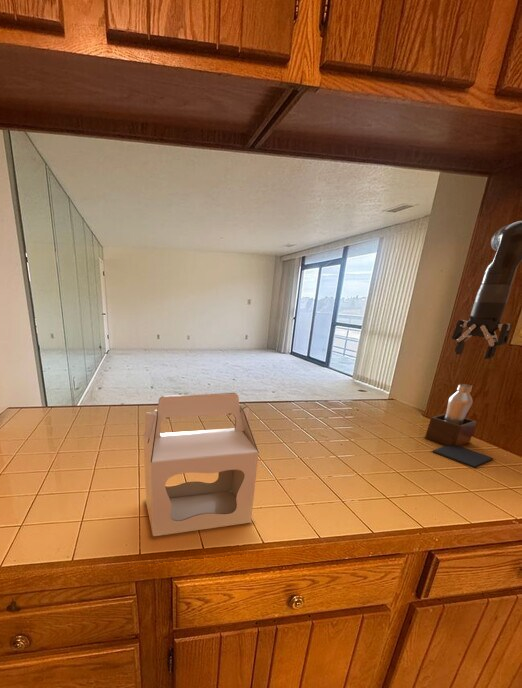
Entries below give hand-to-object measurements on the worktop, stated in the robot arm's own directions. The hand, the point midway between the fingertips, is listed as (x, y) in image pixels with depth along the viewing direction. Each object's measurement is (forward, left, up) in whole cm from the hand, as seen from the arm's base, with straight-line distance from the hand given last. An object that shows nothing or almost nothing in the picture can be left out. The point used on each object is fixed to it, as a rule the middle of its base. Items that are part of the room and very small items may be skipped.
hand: (472, 356), depth 108 cm
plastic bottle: (-4, -1, -30) cm, 30 cm away
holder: (-4, -1, -30) cm, 30 cm away
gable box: (+95, -6, -30) cm, 100 cm away
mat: (+5, +8, -30) cm, 31 cm away
